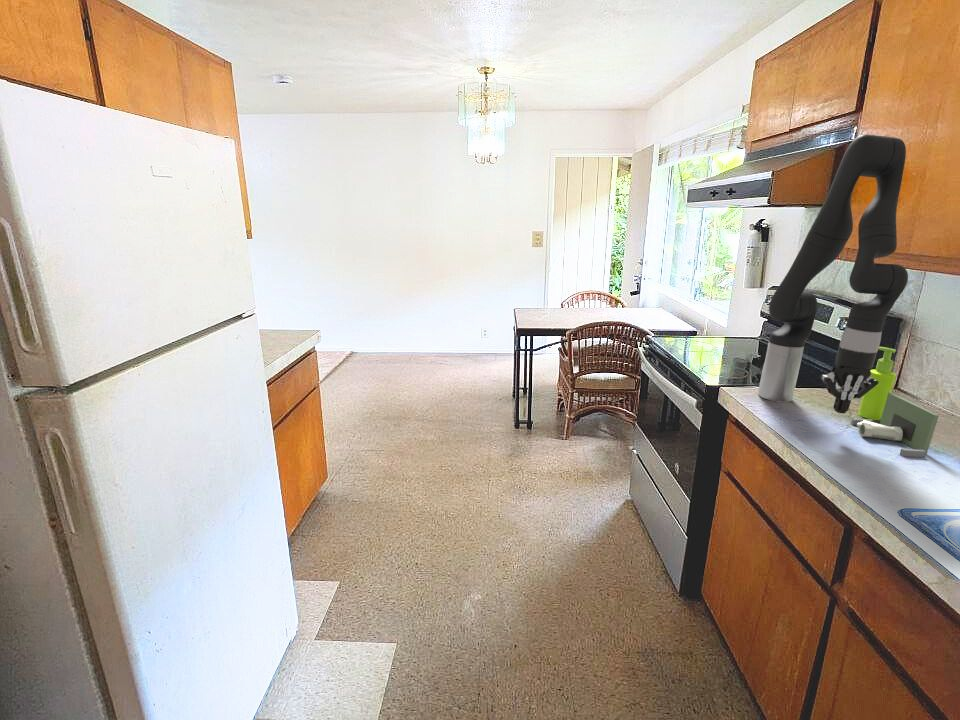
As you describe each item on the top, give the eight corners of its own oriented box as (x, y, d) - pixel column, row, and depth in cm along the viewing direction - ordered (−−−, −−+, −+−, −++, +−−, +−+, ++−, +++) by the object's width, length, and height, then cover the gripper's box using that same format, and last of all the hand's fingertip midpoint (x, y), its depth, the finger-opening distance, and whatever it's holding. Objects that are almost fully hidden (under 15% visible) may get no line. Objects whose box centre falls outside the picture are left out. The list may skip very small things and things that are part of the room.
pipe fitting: (852, 430, 132) (863, 439, 126) (855, 416, 131) (866, 424, 125) (887, 435, 130) (900, 443, 123) (890, 420, 129) (904, 429, 123)
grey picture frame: (850, 423, 135) (859, 389, 132) (877, 424, 134) (887, 390, 131) (902, 456, 117) (913, 417, 114) (933, 457, 116) (945, 418, 114)
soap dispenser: (855, 409, 145) (873, 343, 139) (885, 416, 140) (904, 348, 134) (851, 414, 141) (869, 347, 135) (882, 422, 136) (901, 352, 130)
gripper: (877, 343, 122) (857, 407, 128) (821, 340, 124) (804, 404, 129) (898, 353, 115) (877, 420, 121) (839, 349, 116) (820, 416, 122)
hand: (839, 411), depth 125 cm, fingers closed
